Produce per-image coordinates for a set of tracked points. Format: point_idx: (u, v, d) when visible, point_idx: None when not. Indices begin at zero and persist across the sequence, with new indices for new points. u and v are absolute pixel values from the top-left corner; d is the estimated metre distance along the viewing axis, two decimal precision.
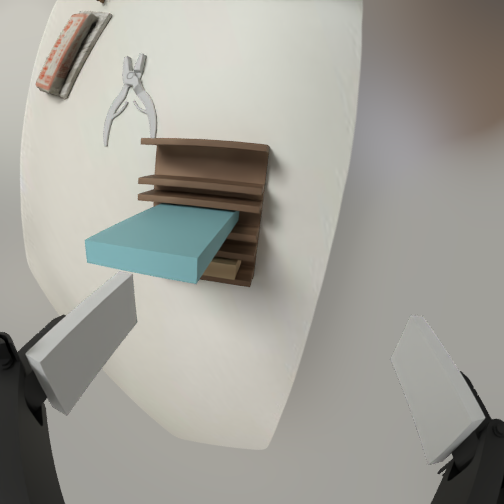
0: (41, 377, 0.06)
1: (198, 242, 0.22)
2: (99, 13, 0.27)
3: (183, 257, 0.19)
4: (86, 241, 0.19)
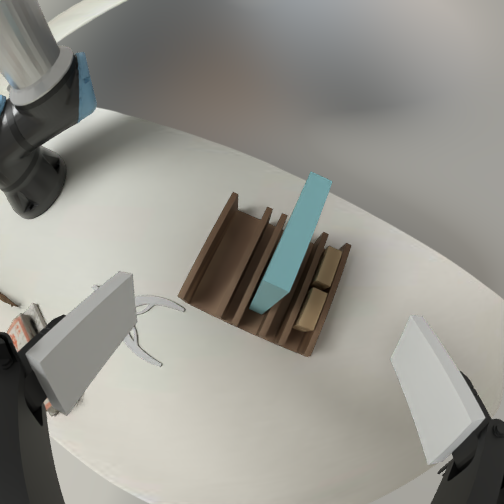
0: (41, 376, 0.06)
1: None
2: (25, 313, 0.34)
3: (308, 180, 0.21)
4: (265, 278, 0.19)
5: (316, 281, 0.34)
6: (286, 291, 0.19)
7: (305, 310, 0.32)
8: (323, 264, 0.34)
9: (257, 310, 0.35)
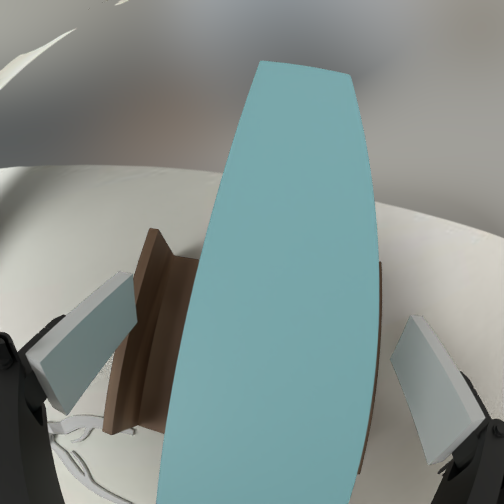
0: (41, 376, 0.06)
1: None
2: None
3: (260, 80, 0.04)
4: None
5: None
6: None
7: None
8: None
9: None
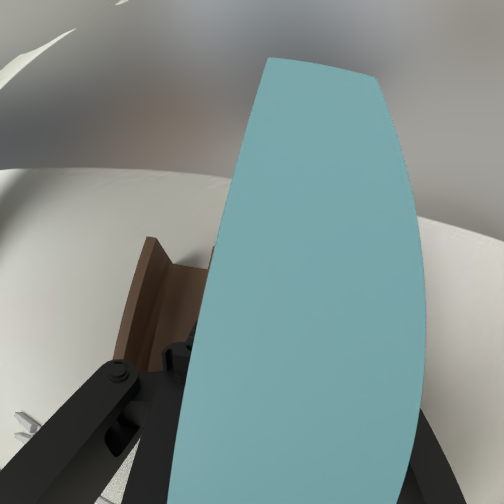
0: None
1: None
2: None
3: (269, 82, 0.04)
4: None
5: None
6: None
7: None
8: None
9: None
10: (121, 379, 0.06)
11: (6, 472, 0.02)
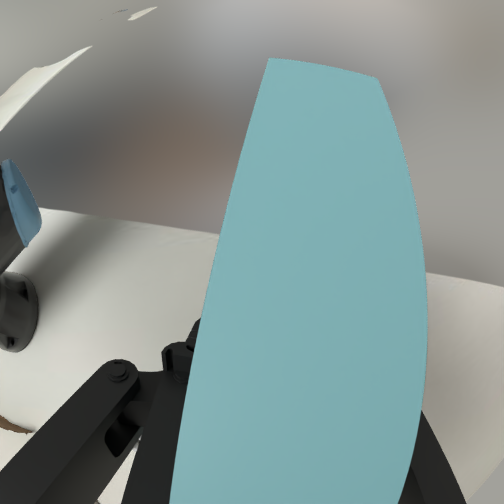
0: None
1: None
2: None
3: (270, 82, 0.04)
4: None
5: None
6: None
7: None
8: None
9: None
10: (121, 379, 0.06)
11: (6, 472, 0.02)
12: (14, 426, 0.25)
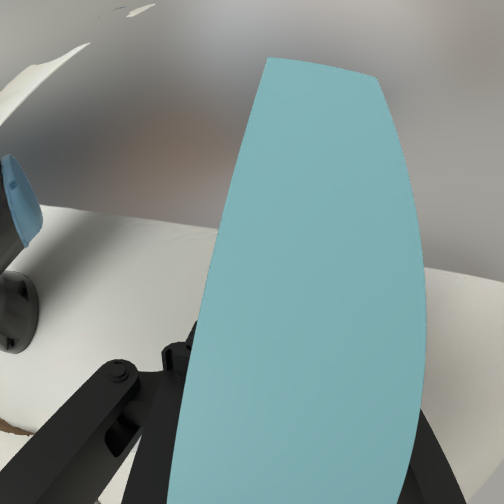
0: None
1: None
2: None
3: (269, 81, 0.04)
4: None
5: None
6: None
7: None
8: None
9: None
10: (121, 379, 0.06)
11: (6, 472, 0.02)
12: (15, 428, 0.24)
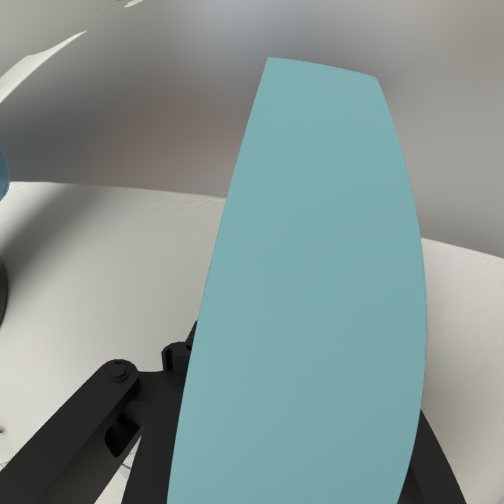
0: None
1: None
2: None
3: (269, 82, 0.04)
4: None
5: None
6: None
7: None
8: None
9: None
10: (121, 379, 0.06)
11: (6, 472, 0.02)
12: None
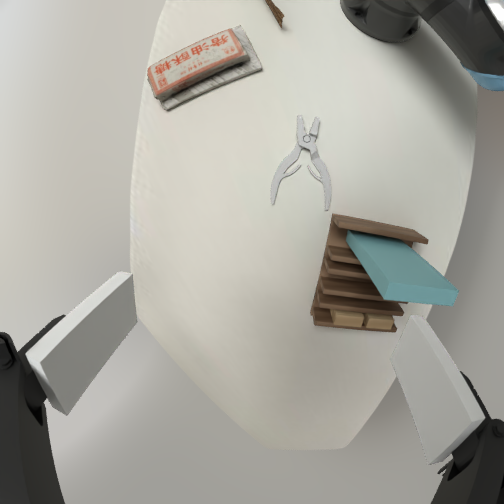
0: (41, 376, 0.06)
1: (441, 278, 0.27)
2: (253, 54, 0.35)
3: (452, 291, 0.24)
4: (390, 283, 0.25)
5: (368, 317, 0.43)
6: (383, 296, 0.26)
7: (347, 316, 0.42)
8: (380, 319, 0.42)
9: (350, 240, 0.42)
10: None
11: None
12: (269, 6, 0.32)
